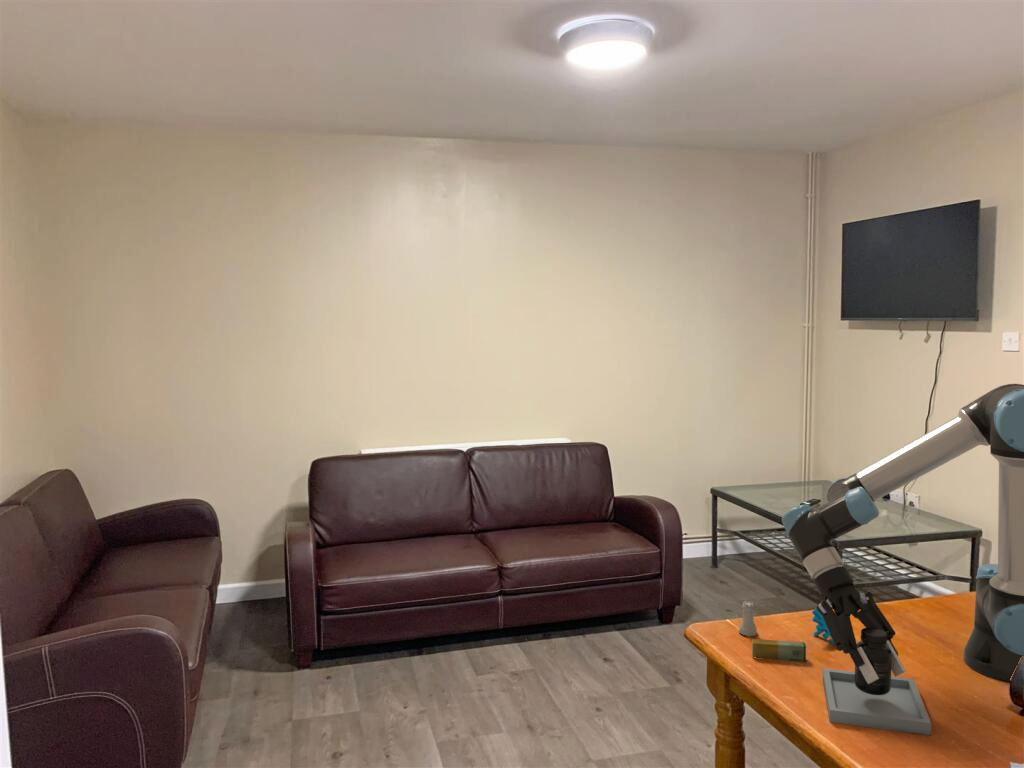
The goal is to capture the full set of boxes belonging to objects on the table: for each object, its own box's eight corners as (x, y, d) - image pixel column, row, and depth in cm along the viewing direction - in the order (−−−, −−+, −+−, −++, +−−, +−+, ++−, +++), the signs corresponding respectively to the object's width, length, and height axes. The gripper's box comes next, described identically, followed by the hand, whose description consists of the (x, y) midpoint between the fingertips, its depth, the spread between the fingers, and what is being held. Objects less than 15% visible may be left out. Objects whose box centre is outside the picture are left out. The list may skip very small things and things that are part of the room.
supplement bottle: (892, 684, 162) (894, 629, 161) (888, 699, 157) (891, 642, 155) (856, 676, 166) (858, 622, 164) (851, 691, 160) (853, 634, 159)
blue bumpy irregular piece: (832, 645, 185) (808, 606, 191) (814, 656, 189) (792, 618, 194) (858, 639, 192) (834, 602, 197) (840, 650, 195) (817, 613, 201)
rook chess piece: (753, 629, 199) (754, 598, 198) (759, 636, 194) (760, 605, 193) (736, 629, 199) (736, 599, 198) (742, 637, 194) (742, 606, 193)
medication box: (804, 658, 183) (805, 641, 183) (806, 663, 181) (806, 646, 180) (751, 654, 186) (751, 637, 185) (752, 659, 183) (752, 642, 183)
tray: (913, 690, 167) (913, 679, 167) (930, 735, 150) (931, 723, 150) (822, 679, 173) (822, 668, 172) (829, 721, 156) (830, 709, 155)
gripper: (853, 574, 177) (911, 674, 164) (784, 587, 169) (839, 694, 156) (872, 558, 171) (934, 661, 158) (802, 571, 164) (861, 680, 151)
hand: (887, 677), depth 157 cm, fingers closed on supplement bottle, 7 cm apart
